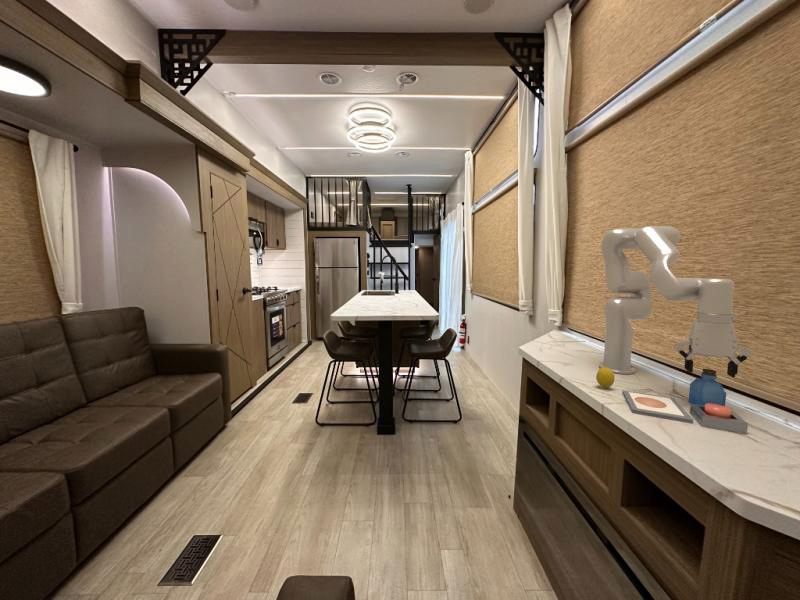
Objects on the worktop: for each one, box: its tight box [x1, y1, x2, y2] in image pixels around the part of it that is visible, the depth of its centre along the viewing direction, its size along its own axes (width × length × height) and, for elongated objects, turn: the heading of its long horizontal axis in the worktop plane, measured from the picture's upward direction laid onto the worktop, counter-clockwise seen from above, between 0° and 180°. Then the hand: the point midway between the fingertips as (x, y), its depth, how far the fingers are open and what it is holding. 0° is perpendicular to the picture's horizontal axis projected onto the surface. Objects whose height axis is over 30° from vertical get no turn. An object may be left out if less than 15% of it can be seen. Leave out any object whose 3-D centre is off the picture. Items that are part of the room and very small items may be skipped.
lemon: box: [595, 367, 615, 389], centre depth 113 cm, size 6×6×8 cm
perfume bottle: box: [688, 368, 727, 407], centre depth 98 cm, size 6×6×12 cm
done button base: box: [689, 403, 749, 435], centre depth 88 cm, size 9×9×3 cm
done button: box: [704, 403, 732, 419], centre depth 88 cm, size 5×5×3 cm
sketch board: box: [621, 389, 694, 424], centre depth 98 cm, size 17×14×1 cm
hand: (709, 373), depth 97 cm, fingers open, 9 cm apart
